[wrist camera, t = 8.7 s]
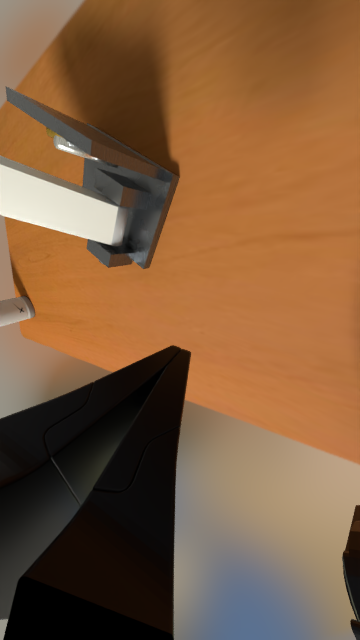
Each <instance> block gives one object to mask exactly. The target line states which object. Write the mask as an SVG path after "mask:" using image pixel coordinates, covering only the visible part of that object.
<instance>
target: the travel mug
mask: <svg viewBox="0 0 360 640" xmlns="http://www.w3.org/2000/svg"><path fill="white" fill-rule="evenodd" d="M34 316H35V311H34V308H33V305H32V303H31V302H30V300H29V299H28V298H27V297H26V296H22V297H18V298H12V299H8V300H3V301H0V327H1V326H4V325H8V324H11V323H15V322H18V321H22V320H25V319H29V318H32V317H34Z"/></svg>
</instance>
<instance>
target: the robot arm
mask: <svg viewBox="0 0 360 640" xmlns="http://www.w3.org/2000/svg"><path fill="white" fill-rule="evenodd" d="M190 357H191V352H190V351H187V350H185V349H181V348H179V347H177V346H174V345H172V346H170V347H168V348H165V349H163V350H161V351H159V352H157V353H154V354H152V355H150V356H148V357H146V358H144V359H141V360H139V361H137V362H135V363H133V364H131V365H128V366H126V367H124V368H122V369H120V370H118V371H115V372H113V373H111V374H109V375H107V376H105V377H102V378H100V379H98V380H96V381H95V382H92V383H90V384H87V385H85V386H83V387H81V388H78V389H76V390H74V391H71V392H69V393H67V394H65V395H62V396H59V397H57V398H54V399H52V400H49V401H47V402H44V403H41V404H38V405H36V406H33V407H30V408H28V409H25V410H22V411H20V412H17V413H14V414H12V415H9V416H6V417H4V418H1V419H0V620H1V619H2V620H3V619H8V623H7V627H6V631H5V635H4V639H3V640H174V610H173V609H174V531H175V485H176V462H177V453H178V443H179V435H180V428H181V421H182V414H183V407H184V400H185V393H186V386H187V379H188V372H189V364H190ZM342 560H343V569H344V579H345V584H346V589H347V592H348V596H349V599H350V603H351V606H352V608H353V611H354V614H355V616H356V619H357V620H354V619H352V620H351V627H352V630H353V633H354V635H355V637H356V640H360V505H356V507H355V512H354V516H353V520H352V524H351V528H350V532H349V537H348V541H347V545H346V549H345V551H344V552H343V557H342Z"/></svg>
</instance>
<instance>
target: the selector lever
mask: <svg viewBox="0 0 360 640" xmlns="http://www.w3.org/2000/svg"><path fill="white" fill-rule="evenodd" d="M129 209H130V208H129V207H123V206H119V205H118V204H116V203H115V202H114V201H112V200H111V199H110V198H108V197H107V196H105V195H102V194H100V193H97V192H94V191H92V190H89V189H86V188H84V187H81V186H79V185H76V184H73V183H71V182H68V181H65V180H63V179H60V178H57V177H55V176H52V175H50V174H47V173H44V172H42V171H39V170H36V169H34V168H31V167H28V166H26V165H23V164H21V163H18V162H15V161H13V160H10V159H7V158H5V157H2V156H0V215H3V216H6V217H10V218H13V219H17V220H21V221H24V222H28V223H32V224H35V225H39V226H43V227H46V228H50V229H54V230H57V231H61V232H65V233H68V234H72V235H76V236H79V237H83V238H87V239H90V240H94V241H98V242H101V243H105V244H109V245H112V246H121V245H122V241H123V236H124V232H125V227H126V223H127V218H128V214H129Z"/></svg>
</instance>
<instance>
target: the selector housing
mask: <svg viewBox="0 0 360 640" xmlns="http://www.w3.org/2000/svg"><path fill="white" fill-rule="evenodd" d="M6 94H7V101H9V102H10V103H12V104H13V105H15V106H16V107H18V108H19V109H21V110H22V111H24V112H25V113H27V114H28V115H30V116H31V117H33V118H34V119H36V120H37V121H39V122H40V123H42V124H43V125H45V126H46V127H47V135H48V136H50V137H52V138H54V145H55V147H56V148H57V149H60V150H63V151H66V152H69V153H72V154H75V155H78V156H81V157H84V158H85V161H84V175H83V187H84V188H86V189H89V190H92V191H94V192H97V193H100V194H102V195H105V196H107V197H108V198H110V199H111V200H112V201H114V202H115V203H116V204H118V205H119V206H123V207H129V208H130V209H129V214H128V218H127V223H126V227H125V232H124V236H123V241H122V245H121V246H112V245H109V244H105V243H101V242H98V241H94V240H90V239H88V243H87V249H88V250H89V251H90V252H91V253H92V254H93V255H94V256H96V257H97V258H98V259H99V261H100V262H101V263H102V264H104V265H106V266H107V267H108V268H109V267H116V266H123V265H129V264H132V260H133V261H134V262H136V263H137V264H138V265H139V266H141V267H142V268H143V269H146V268H149V266H150V263H151V261H152V258H153V255H154V252H155V249H156V246H157V243H158V240H159V237H160V234H161V231H162V228H163V225H164V222H165V219H166V216H167V213H168V210H169V207H170V204H171V201H172V198H173V195H174V192H175V189H176V186H177V183H178V180H179V178H180V177H179V176H177V175H176V174H174V173H172V172H170V171H169V170H167V169H165V168H164V167H162V166H160V165H159V164H157V163H155V162H154V161H152V160H150V159H149V158H147V157H145V156H143V155H142V154H140V153H138V152H137V151H135V150H133V149H132V148H130V147H128V146H127V145H125V144H123V143H122V142H120V141H118V140H116V139H115V138H113V137H111V136H110V135H108V134H106V133H105V132H103V131H101V130H100V129H98V128H96V127H94V126H92V125H90V124H88V123H87V125H86V124H84V123H82V122H80V121H78V120H76V119H73V118H71V117H69V116H67V115H65V114H63V113H61V112H59V111H57V110H54V109H52V108H50V107H48V106H46V105H44V104H42V103H40V102H38V101H35V100H33V99H31V98H29V97H27V96H25V95H23V94H21V93H19V92H16V91H14V90H12V89H10V88H8V87H6Z"/></svg>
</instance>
